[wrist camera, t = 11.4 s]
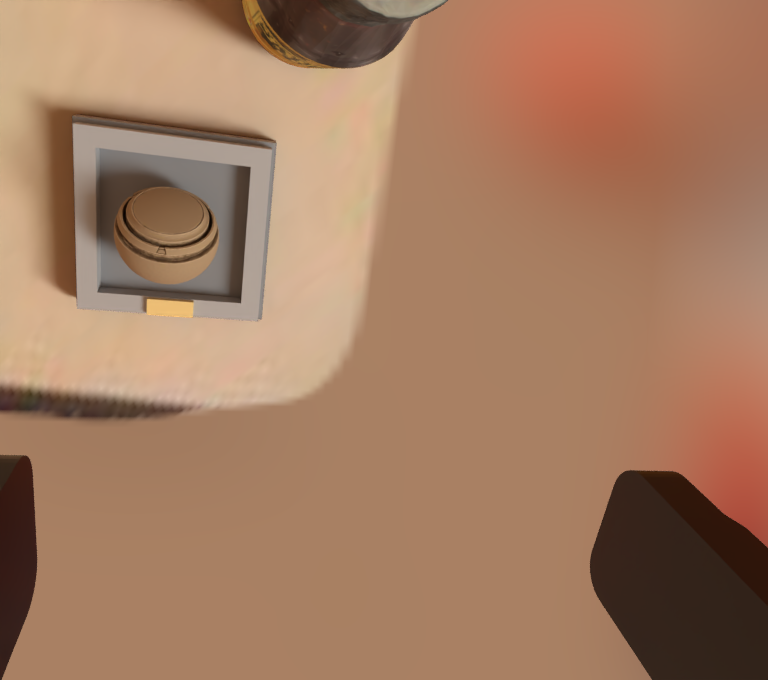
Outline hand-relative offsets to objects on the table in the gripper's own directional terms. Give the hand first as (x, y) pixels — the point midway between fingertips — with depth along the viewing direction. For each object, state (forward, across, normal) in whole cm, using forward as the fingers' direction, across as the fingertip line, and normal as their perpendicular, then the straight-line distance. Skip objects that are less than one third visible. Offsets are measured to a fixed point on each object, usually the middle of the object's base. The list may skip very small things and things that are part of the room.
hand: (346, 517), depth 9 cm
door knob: (+29, +5, +3) cm, 30 cm away
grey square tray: (+30, +5, +3) cm, 31 cm away
